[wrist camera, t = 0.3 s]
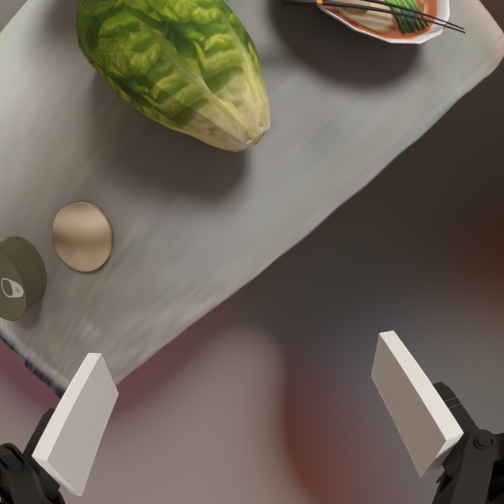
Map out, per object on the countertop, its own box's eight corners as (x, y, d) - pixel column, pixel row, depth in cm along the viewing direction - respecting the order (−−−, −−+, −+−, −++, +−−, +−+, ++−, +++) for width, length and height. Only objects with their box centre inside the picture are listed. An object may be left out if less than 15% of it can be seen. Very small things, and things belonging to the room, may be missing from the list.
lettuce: (207, 181, 37) (187, 204, 23) (90, 46, 30) (28, 12, 15) (301, 109, 35) (341, 86, 20) (174, -22, 27) (148, -84, 13)
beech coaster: (50, 207, 37) (45, 209, 36) (105, 195, 37) (102, 197, 36) (65, 270, 40) (61, 273, 39) (120, 265, 40) (117, 268, 39)
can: (-6, 233, 38) (-31, 246, 31) (42, 237, 39) (17, 252, 32) (6, 296, 42) (-15, 313, 35) (53, 306, 42) (33, 327, 36)
